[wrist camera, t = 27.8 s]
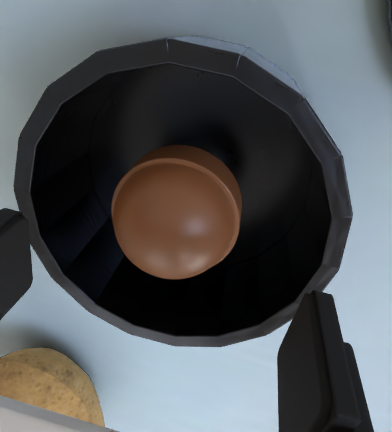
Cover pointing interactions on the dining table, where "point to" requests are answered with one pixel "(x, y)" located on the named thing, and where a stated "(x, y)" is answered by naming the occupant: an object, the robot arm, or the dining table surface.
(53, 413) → the robot arm
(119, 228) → the mushroom
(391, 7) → the pan lid
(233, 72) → the pan
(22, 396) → the potato
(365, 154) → the dining table surface
